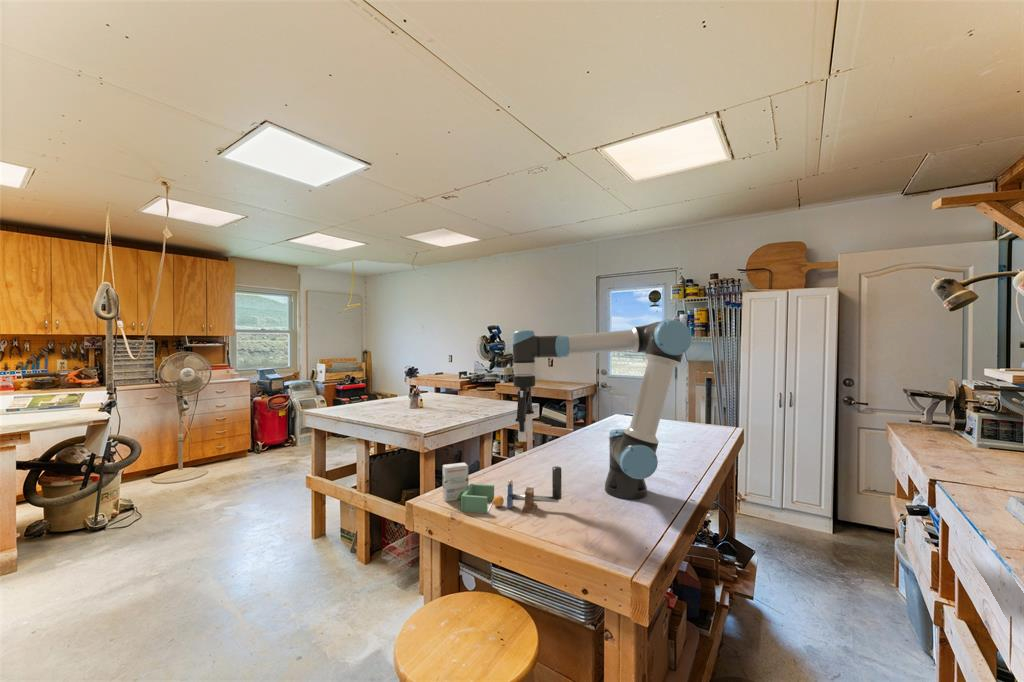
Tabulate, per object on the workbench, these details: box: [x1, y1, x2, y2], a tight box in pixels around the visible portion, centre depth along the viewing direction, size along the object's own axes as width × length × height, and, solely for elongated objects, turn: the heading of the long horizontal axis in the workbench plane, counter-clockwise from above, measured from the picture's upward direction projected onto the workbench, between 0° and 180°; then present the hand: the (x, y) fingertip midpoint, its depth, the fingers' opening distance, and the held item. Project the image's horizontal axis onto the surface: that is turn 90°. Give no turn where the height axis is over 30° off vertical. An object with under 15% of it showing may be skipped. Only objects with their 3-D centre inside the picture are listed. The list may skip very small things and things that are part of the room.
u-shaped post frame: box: [506, 465, 563, 509], centre depth 131 cm, size 18×3×14 cm, turn 81°
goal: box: [460, 483, 495, 514], centre depth 134 cm, size 9×12×5 cm
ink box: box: [442, 462, 469, 503], centre depth 140 cm, size 9×5×12 cm, turn 112°
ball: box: [493, 495, 505, 508], centre depth 133 cm, size 4×4×4 cm
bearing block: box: [521, 486, 537, 514], centre depth 131 cm, size 4×7×6 cm, turn 171°
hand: (525, 436), depth 135 cm, fingers open, 13 cm apart
